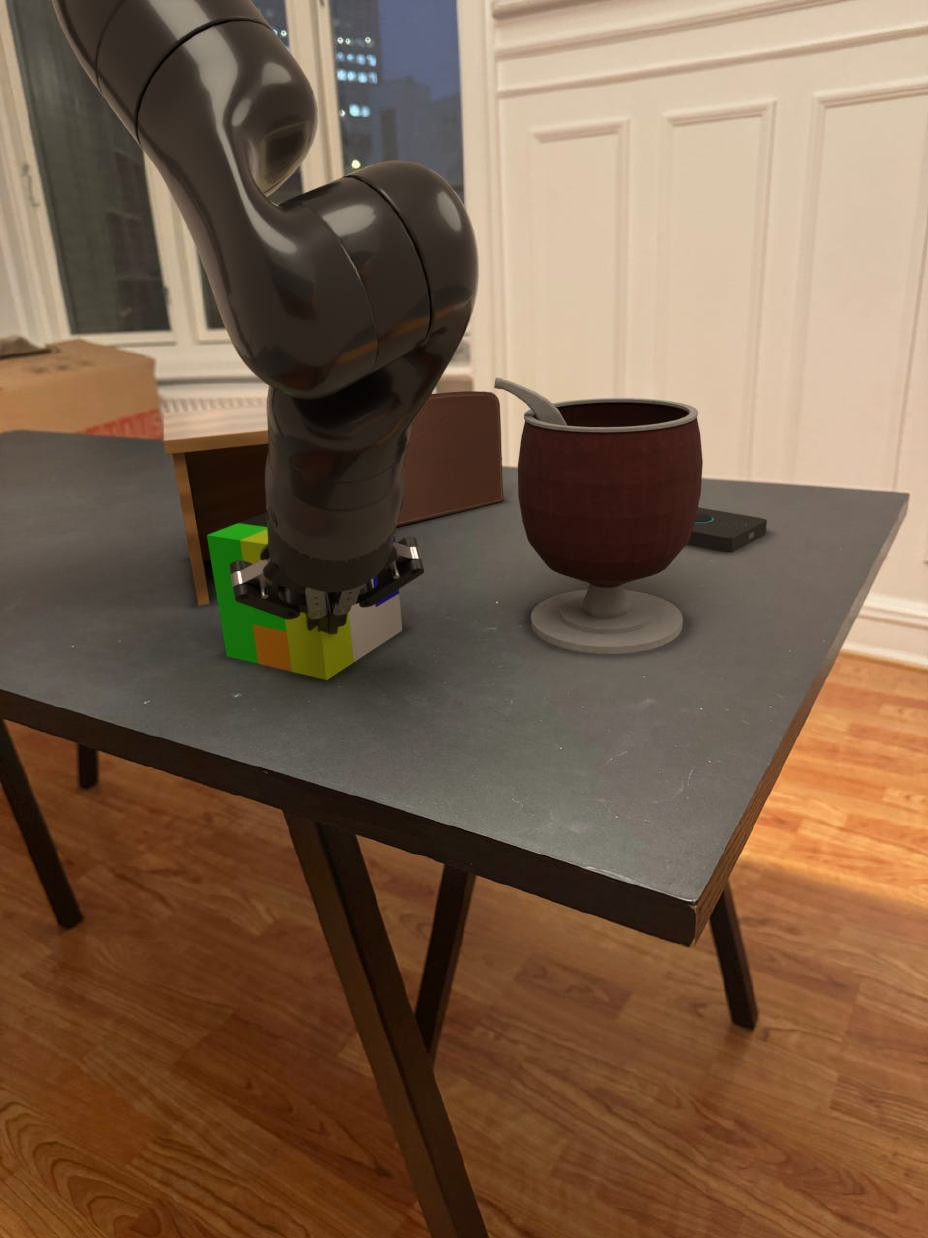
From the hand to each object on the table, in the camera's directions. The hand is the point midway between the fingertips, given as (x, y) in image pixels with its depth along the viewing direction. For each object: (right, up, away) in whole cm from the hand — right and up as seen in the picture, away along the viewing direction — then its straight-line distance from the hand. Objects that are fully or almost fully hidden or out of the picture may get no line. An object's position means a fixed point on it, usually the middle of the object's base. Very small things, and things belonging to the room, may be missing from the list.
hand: (324, 623), depth 66 cm
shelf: (-7, +5, +24) cm, 25 cm away
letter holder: (+4, +13, +41) cm, 44 cm away
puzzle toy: (-2, -2, +6) cm, 7 cm away
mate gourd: (+21, 0, +7) cm, 22 cm away
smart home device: (+32, +10, +31) cm, 45 cm away
